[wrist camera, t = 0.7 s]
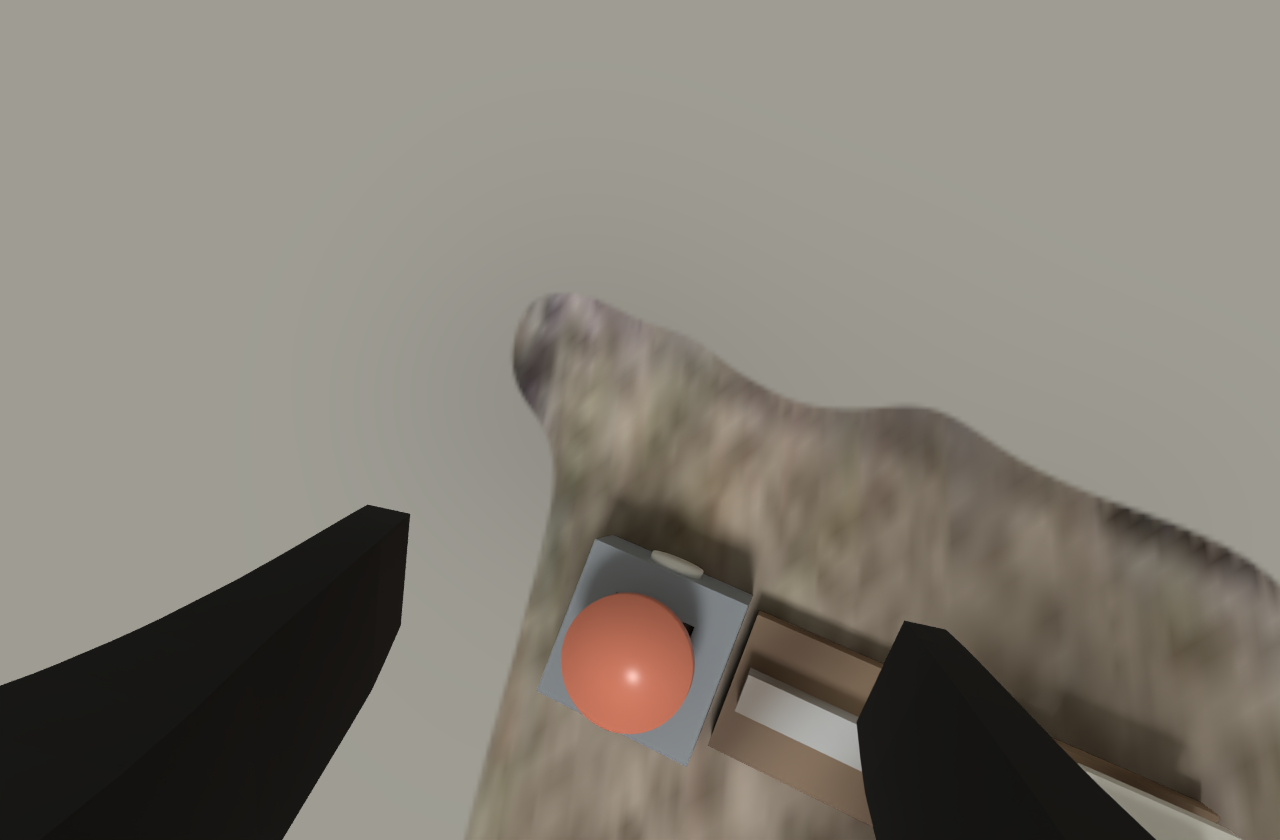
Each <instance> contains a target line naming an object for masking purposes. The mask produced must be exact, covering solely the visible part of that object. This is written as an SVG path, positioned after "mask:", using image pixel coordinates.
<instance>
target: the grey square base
mask: <svg viewBox="0 0 1280 840" xmlns="http://www.w3.org/2000/svg"><path fill="white" fill-rule="evenodd" d="M703 572H704V571H703V570H702V569H701V568H699V567H698V566H696V565H694V564H693V563H691V562H689V561H686V560H684V559H682V558H679V557H677V556H674V555H672V554H669V553H665V552H662V551H657V550H654V551H653V552H652V551H649V550H647V549H645V548H642V547H640V546H638V545H635V544H633V543H631V542H628V541H626V540H624V539H621V538H619V537H617V536H614V535H610V536H606V537H602V538H597V539H595V541H594V543H593V546H592V549H591V551H590V554H589V556H588V559H587V562H586V564H585V567H584V569H583V572H582V574H581V577H580V580H579V582H578V585H577V587H576V590H575V593H574V595H573V598H572V600H571V603H570V605H569V608H568V611H567V613H566V616H565V618H564V621H563V624H562V626H561V629H560V631H559V634H558V636H557V639H556V642H555V644H554V647H553V649H552V652H551V655H550V657H549V660H548V662H547V665H546V667H545V670H544V673H543V675H542V678H541V680H540V683H539V686H538V688H537V692H539V693H541V694H543V695H545V696H547V697H549V698H551V699H553V700H555V701H557V702H559V703H561V704H563V705H565V706H567V707H569V708H571V709H573V710H575V711H577V712H579V713H581V712H580V711H579V709H578V708H577V707H576V706H575V704H574V703H573V701H572V699H571V698H570V696H569V694H568V692H567V689H566V687H565V684H564V681H563V676H562V671H561V651H562V646H563V642H564V638H565V635H566V633H567V631H568V629H569V627H570V625H571V624H572V622H573V620H574V619H575V618H576V617H577V616H578V614H579V613H580V612H581V611H582V610H584V609H585V608H586V607H587V606H589V605H590V604H592V603H593V602H595V601H597V600H599V599H601V598H603V597H605V596H608V595H611V594H615V593H622V592H633V593H640V594H644V595H647V596H650V597H653V598H655V599H657V600H658V601H660V602H662V603H663V604H665V605H666V606H668V607H669V608H670V609H671V610H672V611H673V612H674V613H675V614H676V615H677V616H678V618H679V619H680V620H681V621H682V622H684V623H686V624H689V625H691V626H693V627H695V628H694V630H693V633H692V635H691V638H690V639H691V642H692V645H693V650H694V658H695V670H694V677H693V681H692V685H691V688H690V690H689V692H688V694H687V697H686V698H685V700H684V702H683V704H682V705H681V707H680V708H679V710H678V711H677V712H676V713H675V714H674V716H673V717H671V718H670V719H669V720H668V721H667V722H665V723H664V724H662V725H661V726H659V727H657V728H655V729H653V730H651V731H647V732H644V733H638V734H622V735H624V736H626V737H628V738H630V739H632V740H634V741H636V742H638V743H640V744H642V745H644V746H646V747H648V748H650V749H652V750H654V751H656V752H658V753H660V754H662V755H664V756H666V757H668V758H670V759H672V760H674V761H676V762H678V763H680V764H682V765H684V766H685V767H687V764H688V762H689V759H690V757H691V754H692V752H693V750H694V747H695V745H696V742H697V740H698V737H699V734H700V732H701V729H702V727H703V724H704V721H705V719H706V716H707V714H708V711H709V708H710V706H711V703H712V700H713V698H714V695H715V693H716V690H717V687H718V685H719V682H720V680H721V677H722V674H723V672H724V669H725V667H726V664H727V661H728V659H729V656H730V654H731V651H732V648H733V646H734V643H735V640H736V638H737V635H738V633H739V630H740V627H741V625H742V622H743V620H744V617H745V614H746V612H747V609H748V607H749V604H750V601H751V599H752V596H753V595H751V594H749V593H747V592H744V591H742V590H740V589H737V588H735V587H733V586H730V585H728V584H726V583H724V582H721V581H719V580H717V579H714V578H712V577H710V576H707V575H705V574H703ZM581 714H582V713H581ZM620 734H621V733H620Z"/></svg>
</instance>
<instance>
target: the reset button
mask: <svg viewBox="0 0 1280 840" xmlns="http://www.w3.org/2000/svg"><path fill="white" fill-rule="evenodd" d="M686 629H687V628H686V627H685V626H684V625H683V623H682V621H681V620H680V619H679V618H678V616H677V615H676V614H675V613H674V612H673V611H672V610H671V609H670V608H669V607H668V606H666V605H665V604H663V603H662V602H660V601H658V600H657V599H655V598H653V597H650V596H647V595H644V594H640V593H633V592H622V593H615V594H611V595H608V596H605V597H603V598H601V599H599V600H597V601H595V602H593V603H592V604H590V605H589V606H587V607H586V608H585V609H584V610H582V611H581V612H580V613H579V614H578V616H577V617H576V618H575V619H574V620H573V622H572V624H571V625H570V627H569V629H568V631H567V633H566V635H565V638H564V642H563V646H562V651H561V671H562V676H563V681H564V684H565V687H566V689H567V692H568V694H569V696H570V698H571V699H572V701H573V703H574V704H575V706H576V707H577V708H578V709H579V711H580V712H581V713H582V714H583V715H584V716H585V717H586V718H588V719H589V720H590V721H592V722H593V723H594V724H596V725H598V726H600V727H601V728H604V729H606V730H608V731H612V732H616V733H621V734H638V733H644V732H647V731H651V730H653V729H655V728H657V727H659V726H661V725H662V724H664V723H665V722H667V721H668V720H669V719H670V718H671V717H673V716H674V714H675V713H676V712H677V711H678V710H679V708H680V707H681V705H682V704H683V702H684V700H685V698H686V697H687V694H688V692H689V690H690V688H691V685H692V681H693V677H694V670H695V658H694V650H693V645H692V642H691V639H690V636H689V634H688V632H687V630H686Z"/></svg>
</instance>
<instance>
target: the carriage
mask: <svg viewBox="0 0 1280 840" xmlns="http://www.w3.org/2000/svg"><path fill="white" fill-rule="evenodd" d="M1078 765H1079V766H1080V767H1081V768H1082V769H1083V770H1084V771H1085V772H1086V773H1087V774H1088V775H1089V776H1090V777H1091V778H1092V779H1093V780H1094V781H1095V782H1096V783H1097V784H1098V785H1099V786H1100V787H1101V788H1102V789H1103V790H1104V791H1105V792H1107V793H1108V794H1109V795H1110V796H1111V797H1112V798H1113V799H1114V800H1115V801H1116V802H1117V803H1118V804H1119V805H1120V806H1121V807H1122V808H1123V809H1124V810H1125V811H1127V812H1128V813H1129V814H1130V815H1131V816H1132V817H1133V818H1134V819H1135V820H1136V821H1137V822H1138V823H1139V824H1140V825H1141V826H1142V827H1143V828H1144V829H1145V830H1147V831H1148V832H1149V833H1150V834H1151V835H1152V836H1153V837H1154V838H1155V839H1156V840H1242V839H1241V838H1240V837H1239V836H1237V835H1236V834H1235V833H1233V832H1232V831H1231V830H1230V829H1228V828H1225V827H1223V826H1221V825H1219V824H1216V823H1214V822H1212V821H1209V820H1207V819H1205V818H1203V817H1200V816H1198V815H1196V814H1194V813H1191V812H1189V811H1187V810H1184V809H1182V808H1180V807H1178V806H1175V805H1173V804H1171V803H1169V802H1166V801H1164V800H1162V799H1159V798H1157V797H1155V796H1153V795H1150V794H1148V793H1146V792H1144V791H1141V790H1139V789H1137V788H1134V787H1132V786H1130V785H1128V784H1125V783H1123V782H1121V781H1119V780H1116V779H1114V778H1112V777H1109V776H1107V775H1105V774H1103V773H1100V772H1098V771H1096V770H1094V769H1091V768H1089V767H1087V766H1084V765H1082V764H1080V763H1078Z"/></svg>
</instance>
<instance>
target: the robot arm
mask: <svg viewBox="0 0 1280 840" xmlns="http://www.w3.org/2000/svg"><path fill="white" fill-rule="evenodd" d="M409 521H410V514H408V513H404V512H399V511H394V510H389V509H385V508H381V507H376V506H371V505H366V506H364V507H363V508H361V509H359V510H357V511H356V512H354V513H352V514H350V515H349V516H347V517H345V518H343V519H342V520H340V521H338V522H337V523H335V524H333V525H331V526H330V527H328V528H326V529H325V530H323V531H321V532H319V533H318V534H316V535H315V536H313V537H311V538H309V539H308V540H306V541H304V542H303V543H301V544H299V545H297V546H296V547H294V548H292V549H291V550H289V551H287V552H285V553H284V554H282V555H280V556H278V557H277V558H275V559H273V560H271V561H269V562H268V563H266V564H264V565H262V566H260V567H259V568H257V569H255V570H253V571H252V572H250V573H248V574H246V575H244V576H243V577H241V578H239V579H237V580H235V581H234V582H231V583H229V584H228V585H225V586H224V587H222V588H220V589H218V590H216V591H214V592H212V593H210V594H208V595H206V596H204V597H202V598H200V599H198V600H196V601H194V602H192V603H190V604H188V605H186V606H184V607H182V608H180V609H178V610H176V611H175V612H173V613H171V614H169V615H167V616H165V617H163V618H161V619H159V620H157V621H155V622H152V623H150V624H148V625H146V626H144V627H142V628H140V629H137V630H135V631H133V632H131V633H129V634H126V635H124V636H122V637H120V638H117V639H115V640H113V641H111V642H108V643H106V644H104V645H101V646H99V647H96V648H94V649H92V650H90V651H87V652H85V653H82V654H80V655H78V656H75V657H73V658H71V659H68V660H66V661H64V662H61V663H59V664H56V665H54V666H51V667H49V668H46V669H44V670H41V671H39V672H36V673H34V674H31V675H28V676H25V677H23V678H20V679H17V680H15V681H12V682H9V683H7V684H4V685H1V686H0V840H282V839H283V838H284V836H285V834H286V833H287V831H288V829H289V828H290V826H291V824H292V823H293V821H294V819H295V818H296V816H297V814H298V813H299V811H300V809H301V808H302V806H303V804H304V803H305V801H306V799H307V798H308V796H309V794H310V793H311V791H312V789H313V788H314V786H315V784H316V783H317V781H318V779H319V778H320V776H321V774H322V773H323V771H324V770H325V768H326V766H327V764H328V763H329V761H330V759H331V758H332V756H333V755H334V753H335V751H336V749H337V748H338V746H339V745H340V743H341V741H342V740H343V738H344V736H345V734H346V733H347V731H348V729H349V728H350V726H351V724H352V723H353V721H354V719H355V718H356V716H357V714H358V713H359V711H360V709H361V708H362V706H363V704H364V702H365V701H366V699H367V697H368V695H369V694H370V692H371V690H372V688H373V686H374V684H375V682H376V680H377V677H378V675H379V673H380V671H381V669H382V667H383V664H384V662H385V660H386V658H387V656H388V653H389V651H390V649H391V646H392V644H393V642H394V640H395V637H396V635H397V633H398V630H399V628H400V626H401V616H402V614H401V613H402V604H403V591H404V580H405V568H406V555H407V544H408V532H409ZM856 724H857V733H858V742H859V752H860V761H861V768H862V775H863V783H864V790H865V795H866V800H867V804H868V808H869V812H870V816H871V820H872V824H873V828H874V833H875V837H876V840H1156V839H1155V838H1154V837H1153V836H1152V835H1151V834H1150V833H1149V832H1148V831H1147V830H1145V829H1144V828H1143V827H1142V826H1141V825H1140V824H1139V823H1138V822H1137V821H1136V820H1135V819H1134V818H1133V817H1132V816H1131V815H1130V814H1129V813H1128V812H1127V811H1125V810H1124V809H1123V808H1122V807H1121V806H1120V805H1119V804H1118V803H1117V802H1116V801H1115V800H1114V799H1113V798H1112V797H1111V796H1110V795H1109V794H1108V793H1107V792H1105V791H1104V790H1103V789H1102V788H1101V787H1100V786H1099V785H1098V784H1097V783H1096V782H1095V781H1094V780H1093V779H1092V778H1091V777H1090V776H1089V775H1088V774H1087V773H1086V772H1085V771H1084V770H1083V769H1082V768H1081V767H1080V766H1079V765H1078V764H1077V763H1076V762H1075V761H1074V760H1073V759H1072V758H1071V757H1070V756H1069V755H1068V754H1067V753H1066V752H1065V751H1064V750H1063V749H1062V748H1061V747H1060V746H1059V745H1058V744H1057V743H1056V741H1055V740H1054V739H1053V738H1052V737H1051V736H1050V735H1049V734H1048V733H1047V732H1046V731H1045V730H1044V729H1043V728H1042V727H1041V726H1040V725H1039V724H1038V723H1037V722H1036V721H1035V720H1034V719H1033V718H1032V717H1031V716H1030V715H1029V714H1028V713H1027V711H1026V710H1025V709H1024V708H1023V707H1022V706H1021V705H1020V704H1019V703H1018V702H1017V701H1016V700H1015V699H1014V698H1013V697H1012V696H1011V695H1010V694H1009V693H1008V692H1007V691H1006V689H1005V688H1004V687H1003V686H1002V685H1001V684H1000V683H999V682H998V681H997V680H996V679H995V678H994V677H993V676H992V675H991V674H990V673H989V672H988V671H987V670H986V669H985V668H984V667H983V666H982V665H981V663H980V662H979V661H978V660H977V659H976V658H975V657H974V656H973V655H972V654H971V653H970V652H969V651H968V650H967V649H966V648H965V647H964V646H963V645H962V644H961V643H960V642H959V641H957V640H956V639H955V638H954V637H953V636H952V635H951V634H950V633H949V632H948V631H947V630H945V629H940V628H936V627H931V626H926V625H922V624H917V623H912V622H908V621H904V623H903V625H902V627H901V629H900V631H899V633H898V635H897V637H896V640H895V642H894V644H893V646H892V648H891V650H890V652H889V654H888V656H887V658H886V661H885V663H884V665H883V667H882V669H881V671H880V673H879V675H878V677H877V680H876V682H875V684H874V686H873V688H872V690H871V692H870V694H869V696H868V699H867V701H866V703H865V705H864V707H863V709H862V711H861V713H860V715H859V717H858V720H857V722H856Z"/></svg>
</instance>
